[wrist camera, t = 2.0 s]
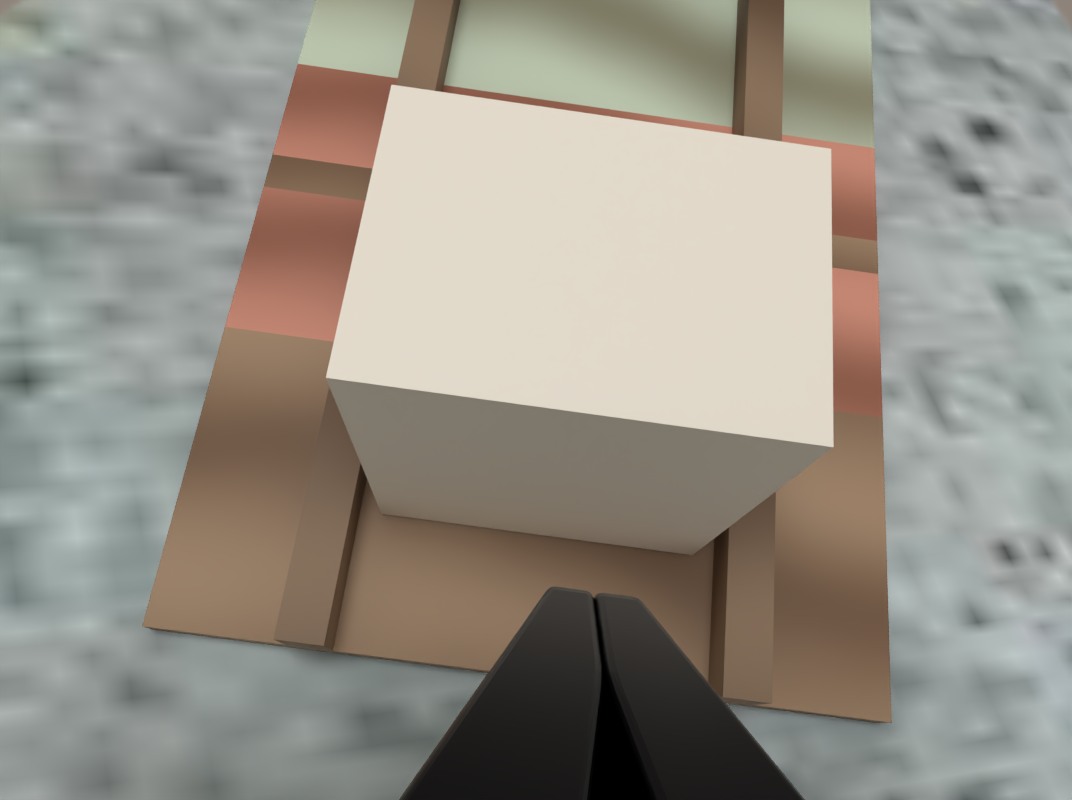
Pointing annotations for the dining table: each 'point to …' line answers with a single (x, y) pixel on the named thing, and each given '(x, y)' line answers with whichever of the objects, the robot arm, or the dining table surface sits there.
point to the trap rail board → (506, 556)
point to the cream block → (585, 321)
